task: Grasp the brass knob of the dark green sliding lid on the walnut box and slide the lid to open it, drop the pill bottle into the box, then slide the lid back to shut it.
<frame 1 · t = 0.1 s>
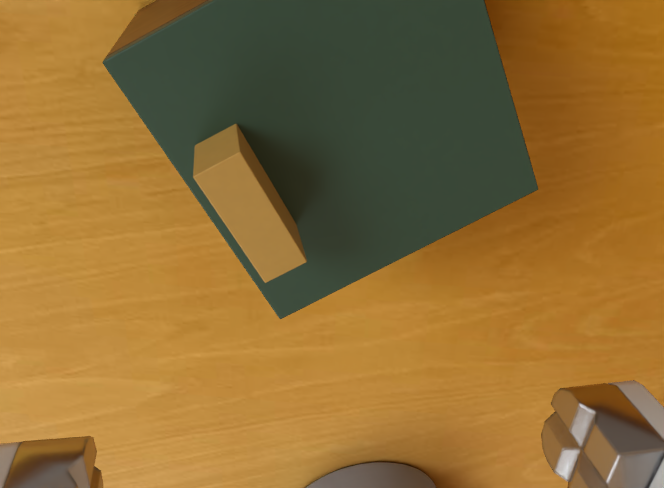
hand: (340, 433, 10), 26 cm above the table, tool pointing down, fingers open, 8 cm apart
box: (304, 65, 32), on the table
lid: (355, 144, 21), point 13 cm above the table, slide at 0.0 cm
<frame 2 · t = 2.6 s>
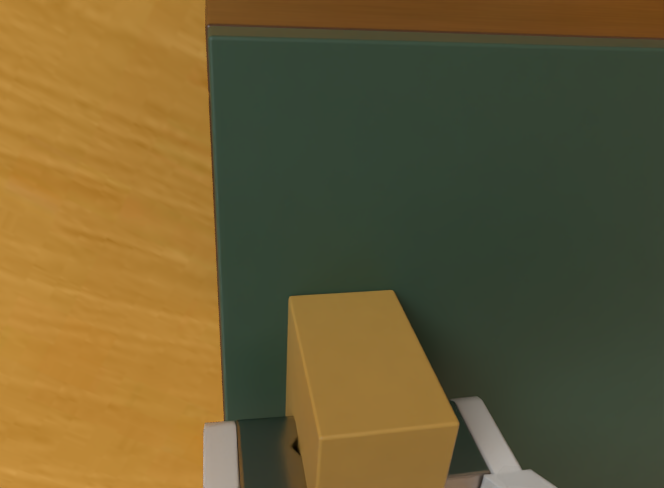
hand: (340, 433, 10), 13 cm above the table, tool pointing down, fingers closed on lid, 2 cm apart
box: (388, 162, 22), on the table
lid: (580, 421, 11), point 13 cm above the table, slide at 0.0 cm, touching gripper
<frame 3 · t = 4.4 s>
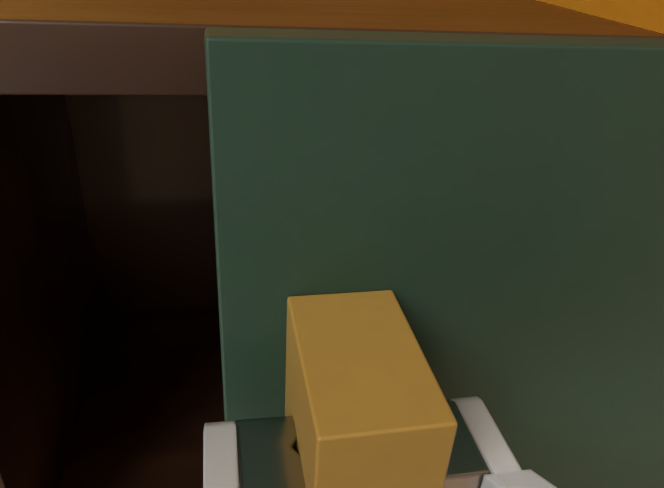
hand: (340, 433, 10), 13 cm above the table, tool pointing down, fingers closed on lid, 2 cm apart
box: (246, 165, 21), on the table
lid: (580, 421, 11), point 13 cm above the table, slide at 5.4 cm, touching gripper
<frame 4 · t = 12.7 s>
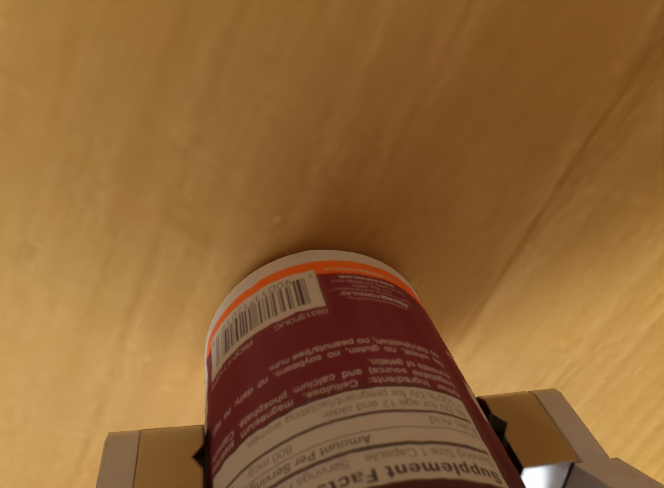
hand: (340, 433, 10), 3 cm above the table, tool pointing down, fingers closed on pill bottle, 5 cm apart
pill bottle: (315, 330, 12), on the table, touching gripper
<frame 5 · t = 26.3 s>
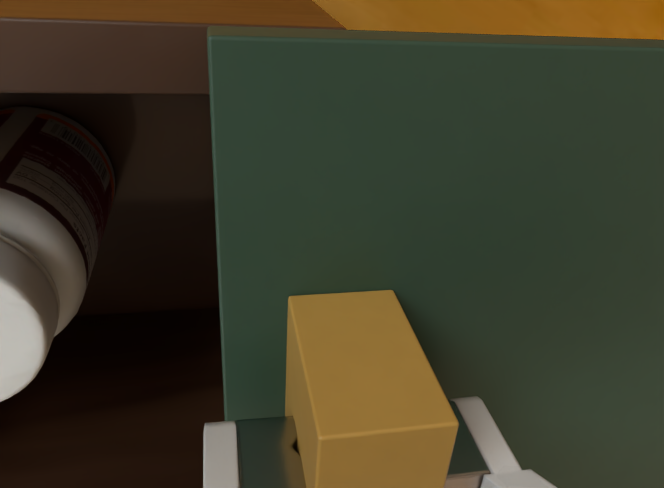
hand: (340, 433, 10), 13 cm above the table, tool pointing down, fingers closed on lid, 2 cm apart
box: (82, 167, 20), on the table
pill bottle: (42, 173, 19), point 1 cm above the table, touching box
lid: (580, 421, 11), point 13 cm above the table, slide at 11.0 cm, touching gripper
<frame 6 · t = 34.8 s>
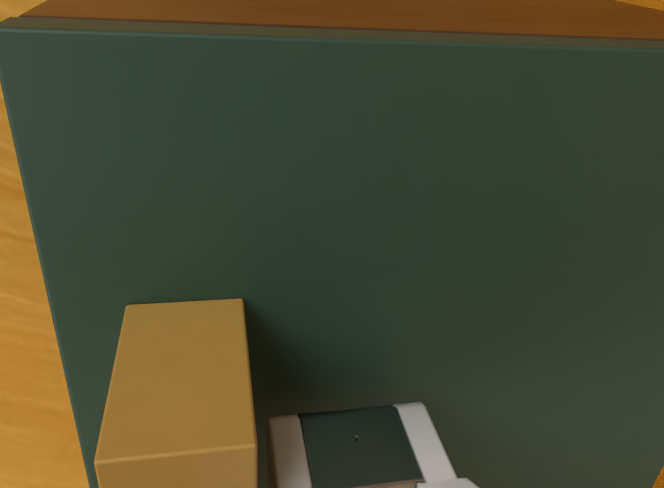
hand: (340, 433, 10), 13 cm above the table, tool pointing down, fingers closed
box: (326, 163, 21), on the table
lid: (453, 436, 10), point 13 cm above the table, slide at -0.1 cm, touching gripper
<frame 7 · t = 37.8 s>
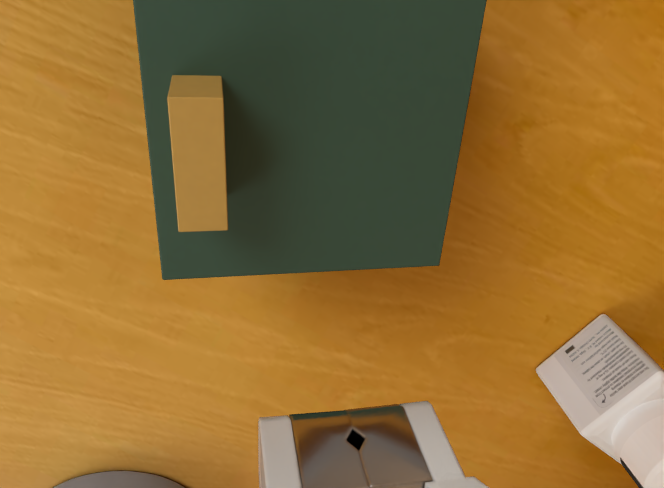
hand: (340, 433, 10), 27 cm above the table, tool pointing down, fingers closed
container: (587, 357, 51), on the table
lid: (317, 148, 22), point 13 cm above the table, slide at 0.0 cm
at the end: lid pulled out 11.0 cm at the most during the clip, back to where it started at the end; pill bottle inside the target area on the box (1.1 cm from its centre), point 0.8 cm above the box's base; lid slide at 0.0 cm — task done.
